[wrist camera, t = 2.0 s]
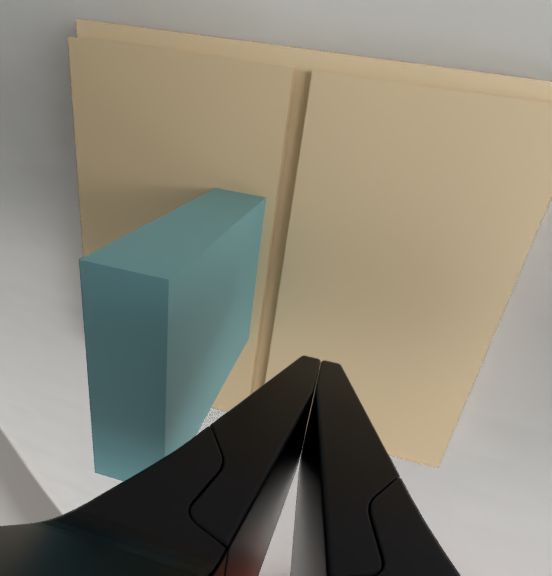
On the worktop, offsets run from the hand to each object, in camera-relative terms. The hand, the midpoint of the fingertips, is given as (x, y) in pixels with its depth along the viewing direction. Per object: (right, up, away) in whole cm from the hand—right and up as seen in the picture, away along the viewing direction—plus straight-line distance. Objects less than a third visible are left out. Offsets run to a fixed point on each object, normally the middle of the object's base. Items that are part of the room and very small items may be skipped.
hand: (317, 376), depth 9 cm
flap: (-4, +3, +5) cm, 8 cm away
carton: (0, +3, +6) cm, 7 cm away
